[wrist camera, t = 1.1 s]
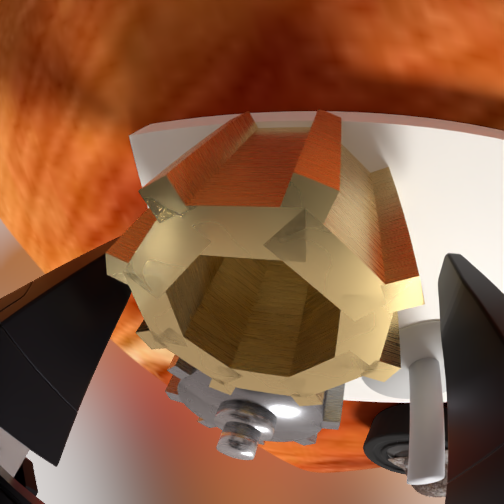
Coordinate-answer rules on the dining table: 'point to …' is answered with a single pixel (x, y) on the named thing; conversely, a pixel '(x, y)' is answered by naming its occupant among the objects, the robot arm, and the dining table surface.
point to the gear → (251, 412)
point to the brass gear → (272, 261)
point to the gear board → (420, 229)
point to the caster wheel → (400, 445)
